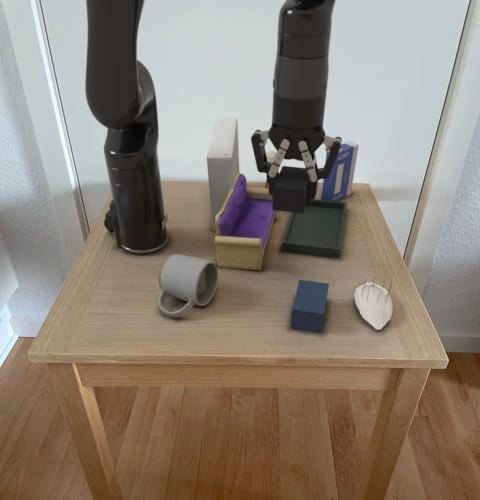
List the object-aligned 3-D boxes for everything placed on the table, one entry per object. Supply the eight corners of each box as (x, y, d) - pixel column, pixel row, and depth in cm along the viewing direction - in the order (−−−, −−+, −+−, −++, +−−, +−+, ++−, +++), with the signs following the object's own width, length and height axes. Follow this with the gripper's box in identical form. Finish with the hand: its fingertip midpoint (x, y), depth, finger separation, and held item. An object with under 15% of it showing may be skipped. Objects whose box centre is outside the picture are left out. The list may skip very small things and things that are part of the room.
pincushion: (396, 332, 79) (404, 305, 75) (358, 331, 79) (364, 304, 75) (383, 287, 88) (390, 260, 84) (349, 286, 88) (354, 260, 84)
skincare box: (217, 184, 118) (215, 117, 108) (240, 185, 118) (240, 117, 107) (209, 230, 102) (206, 156, 92) (235, 231, 102) (235, 156, 92)
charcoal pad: (303, 214, 77) (305, 190, 75) (272, 210, 78) (273, 186, 76) (310, 191, 83) (312, 168, 80) (281, 188, 84) (282, 165, 81)
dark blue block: (321, 332, 79) (324, 313, 76) (290, 328, 80) (292, 309, 77) (326, 302, 85) (329, 283, 82) (297, 298, 85) (299, 279, 83)
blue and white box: (330, 204, 111) (337, 152, 103) (320, 200, 112) (326, 148, 104) (351, 193, 115) (360, 142, 107) (342, 189, 116) (349, 139, 108)
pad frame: (338, 258, 94) (340, 249, 93) (281, 251, 96) (281, 242, 95) (345, 210, 109) (346, 202, 107) (295, 205, 110) (296, 196, 109)
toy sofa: (261, 273, 91) (261, 224, 84) (215, 268, 92) (212, 220, 85) (278, 217, 106) (279, 172, 99) (238, 214, 108) (237, 169, 101)
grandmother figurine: (261, 198, 113) (263, 144, 104) (278, 198, 113) (281, 144, 104) (261, 215, 107) (262, 159, 99) (278, 215, 107) (282, 159, 99)
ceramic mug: (180, 277, 90) (176, 242, 85) (219, 289, 87) (218, 253, 82) (147, 312, 83) (141, 276, 78) (190, 326, 80) (185, 289, 75)
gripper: (353, 84, 71) (338, 193, 82) (256, 77, 73) (254, 183, 85) (349, 100, 65) (333, 214, 76) (244, 92, 68) (243, 204, 79)
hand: (291, 198), depth 80 cm, fingers closed on charcoal pad, 5 cm apart
